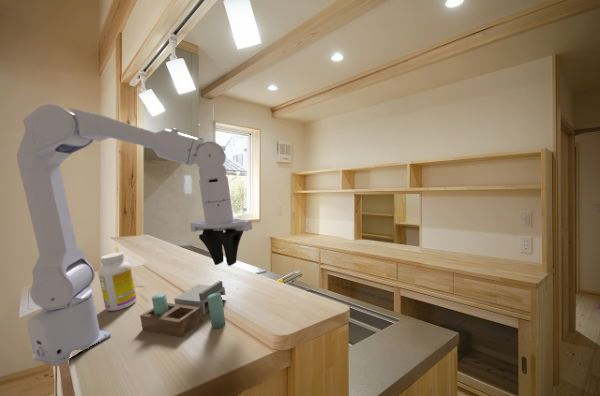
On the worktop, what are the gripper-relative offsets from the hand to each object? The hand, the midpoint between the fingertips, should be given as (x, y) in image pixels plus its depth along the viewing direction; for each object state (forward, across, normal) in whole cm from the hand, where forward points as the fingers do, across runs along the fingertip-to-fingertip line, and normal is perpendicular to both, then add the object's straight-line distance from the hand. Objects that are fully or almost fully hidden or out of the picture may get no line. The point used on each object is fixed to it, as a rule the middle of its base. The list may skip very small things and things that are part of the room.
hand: (225, 263), depth 61 cm
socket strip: (+10, +9, +8) cm, 16 cm away
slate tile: (+10, +8, 0) cm, 13 cm away
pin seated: (+10, +11, +8) cm, 17 cm away
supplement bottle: (+11, +30, +4) cm, 33 cm away
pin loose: (+10, -1, +6) cm, 12 cm away
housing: (+10, +8, 0) cm, 13 cm away
